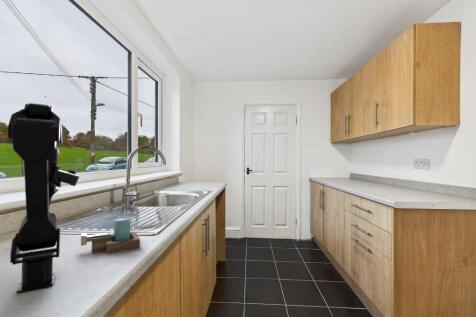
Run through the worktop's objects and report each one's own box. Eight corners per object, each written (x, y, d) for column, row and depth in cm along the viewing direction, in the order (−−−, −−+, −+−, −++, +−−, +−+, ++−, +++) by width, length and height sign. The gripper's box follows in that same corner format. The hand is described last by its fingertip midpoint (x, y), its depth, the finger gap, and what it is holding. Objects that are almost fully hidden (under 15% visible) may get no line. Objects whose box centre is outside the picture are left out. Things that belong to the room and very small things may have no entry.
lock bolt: (111, 241, 82) (111, 232, 82) (80, 245, 77) (81, 236, 77) (110, 238, 84) (110, 230, 84) (81, 242, 80) (81, 233, 80)
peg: (131, 247, 84) (131, 220, 84) (114, 250, 81) (114, 222, 81) (129, 242, 88) (129, 217, 88) (113, 245, 85) (113, 219, 85)
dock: (139, 248, 83) (139, 235, 83) (91, 256, 76) (91, 241, 76) (135, 239, 91) (135, 227, 91) (91, 246, 84) (91, 233, 84)
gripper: (76, 162, 70) (75, 218, 70) (79, 161, 86) (78, 206, 86) (25, 162, 64) (24, 222, 64) (38, 161, 80) (37, 209, 80)
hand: (45, 214), depth 74 cm, fingers closed
